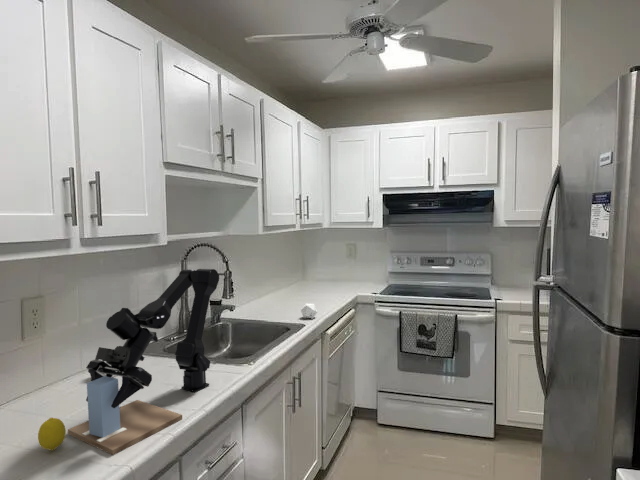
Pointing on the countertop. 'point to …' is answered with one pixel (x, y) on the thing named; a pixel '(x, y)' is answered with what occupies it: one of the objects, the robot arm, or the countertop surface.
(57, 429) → the lemon
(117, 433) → the board
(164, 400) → the countertop surface
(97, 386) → the light blue block
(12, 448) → the countertop surface
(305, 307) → the die
